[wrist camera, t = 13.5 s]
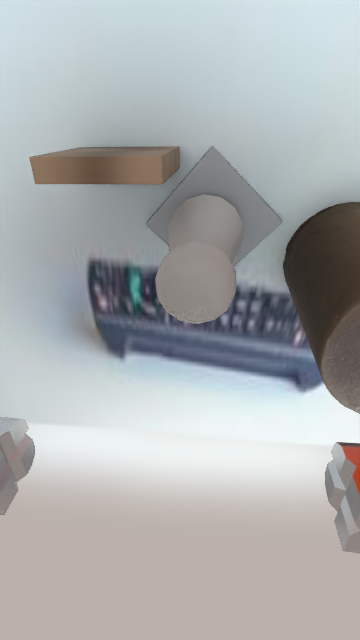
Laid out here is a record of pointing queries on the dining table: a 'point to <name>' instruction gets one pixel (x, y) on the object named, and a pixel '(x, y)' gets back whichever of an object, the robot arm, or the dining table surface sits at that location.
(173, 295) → the salt shaker
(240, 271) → the dining table surface
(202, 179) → the slate mat
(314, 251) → the pillar candle
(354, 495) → the robot arm
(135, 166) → the walnut box
